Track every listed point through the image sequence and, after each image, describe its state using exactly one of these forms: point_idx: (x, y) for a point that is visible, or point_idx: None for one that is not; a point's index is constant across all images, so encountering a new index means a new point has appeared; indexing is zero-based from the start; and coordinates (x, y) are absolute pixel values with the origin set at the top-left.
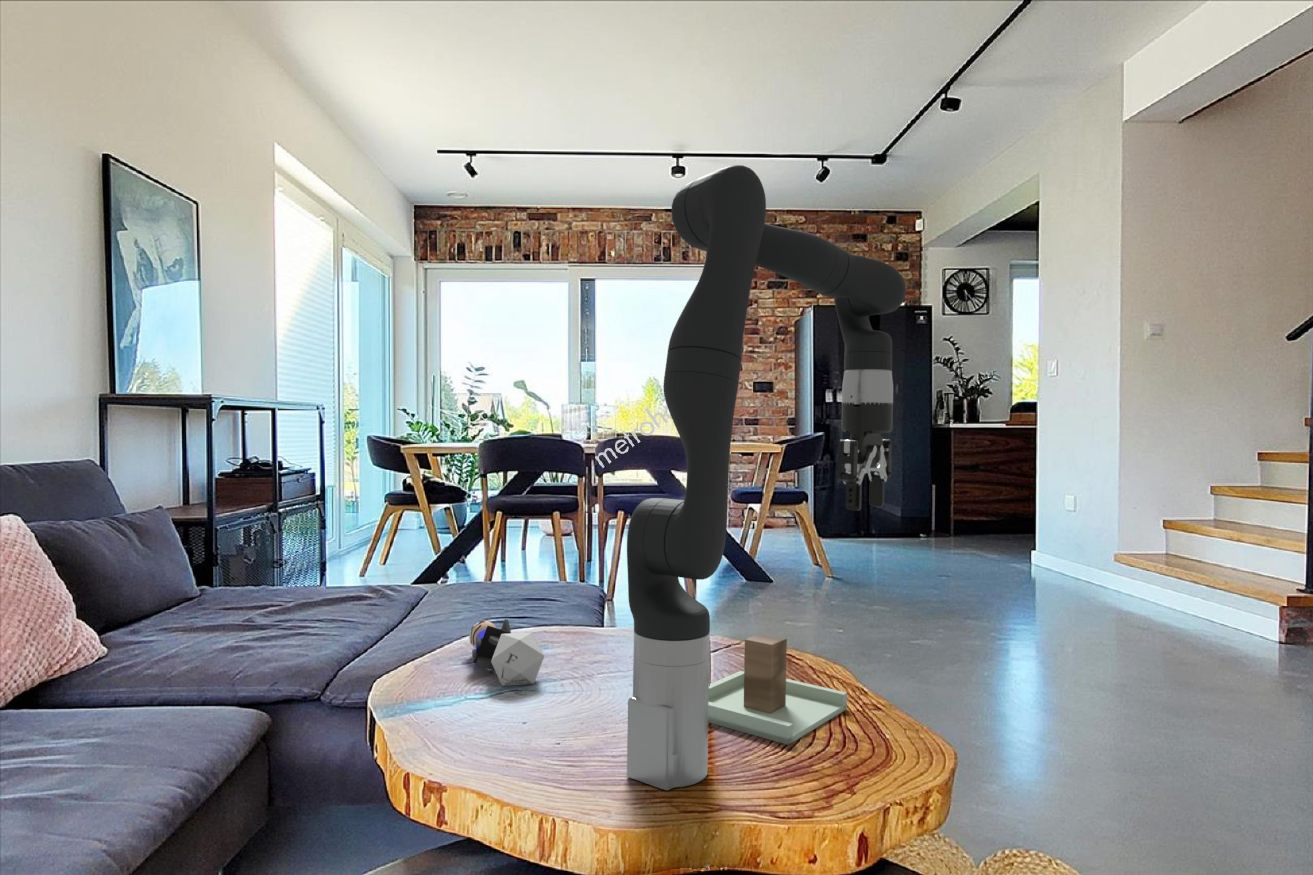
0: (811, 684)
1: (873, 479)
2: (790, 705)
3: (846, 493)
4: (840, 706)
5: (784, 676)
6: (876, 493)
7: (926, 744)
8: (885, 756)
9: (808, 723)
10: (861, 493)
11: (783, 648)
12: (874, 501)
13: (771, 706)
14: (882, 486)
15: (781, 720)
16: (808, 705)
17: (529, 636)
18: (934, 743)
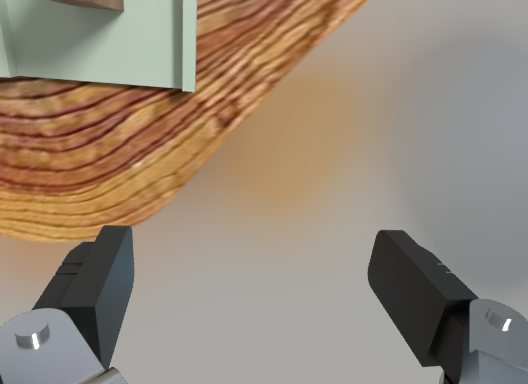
0: (195, 28)
1: (457, 330)
2: (130, 18)
3: (49, 286)
4: (178, 86)
5: (106, 7)
6: (398, 292)
7: (143, 206)
8: (74, 183)
9: (80, 74)
10: (116, 341)
11: (84, 2)
12: (381, 259)
13: (73, 5)
14: (410, 347)
15: (60, 34)
16: (150, 43)
17: None
18: (152, 211)
